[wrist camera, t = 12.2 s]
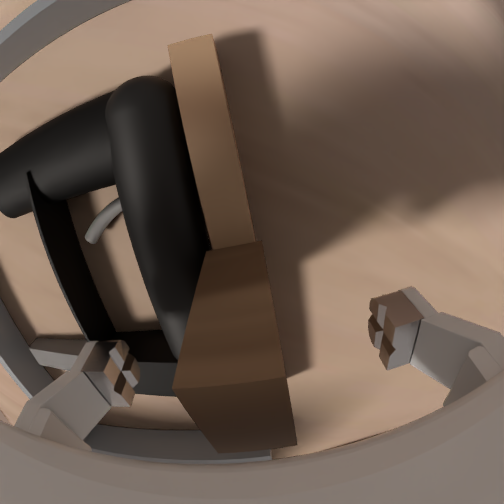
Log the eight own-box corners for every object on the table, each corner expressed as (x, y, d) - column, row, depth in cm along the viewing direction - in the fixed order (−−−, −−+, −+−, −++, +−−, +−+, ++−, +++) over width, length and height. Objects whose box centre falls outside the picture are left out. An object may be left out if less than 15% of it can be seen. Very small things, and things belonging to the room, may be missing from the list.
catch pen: (-52, 126, 7) (-78, 132, 4) (158, -24, 6) (140, -55, 4) (91, 427, 19) (83, 449, 17) (269, 429, 19) (272, 459, 16)
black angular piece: (74, 418, 16) (269, 439, 14) (-46, 181, 7) (197, 48, 6) (87, 391, 19) (268, 401, 17) (-12, 168, 10) (213, 70, 9)
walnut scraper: (176, 64, 9) (64, -36, 1) (224, 52, 9) (191, -86, 1) (255, 381, 16) (263, 503, 8) (286, 376, 16) (305, 497, 8)
